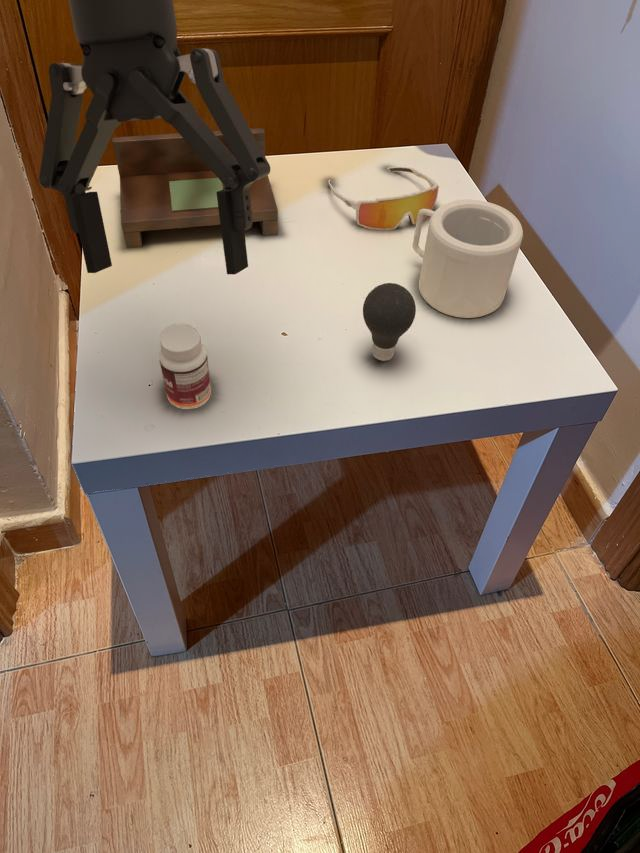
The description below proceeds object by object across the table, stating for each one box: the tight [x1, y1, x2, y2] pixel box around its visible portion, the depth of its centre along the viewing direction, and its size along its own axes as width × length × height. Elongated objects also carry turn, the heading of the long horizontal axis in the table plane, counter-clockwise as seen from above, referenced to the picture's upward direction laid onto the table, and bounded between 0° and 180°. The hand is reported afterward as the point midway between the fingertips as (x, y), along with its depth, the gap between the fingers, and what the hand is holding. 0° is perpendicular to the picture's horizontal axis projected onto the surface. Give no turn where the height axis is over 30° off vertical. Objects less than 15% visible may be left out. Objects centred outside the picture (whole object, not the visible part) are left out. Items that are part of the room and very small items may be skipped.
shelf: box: [112, 127, 279, 249], centre depth 91 cm, size 20×12×9 cm, turn 101°
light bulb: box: [362, 282, 417, 362], centre depth 75 cm, size 6×6×10 cm
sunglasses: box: [327, 166, 440, 231], centre depth 98 cm, size 14×15×5 cm
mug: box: [412, 199, 524, 319], centre depth 83 cm, size 14×11×10 cm
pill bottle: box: [158, 323, 212, 410], centre depth 71 cm, size 5×5×8 cm
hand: (166, 270), depth 60 cm, fingers open, 13 cm apart
